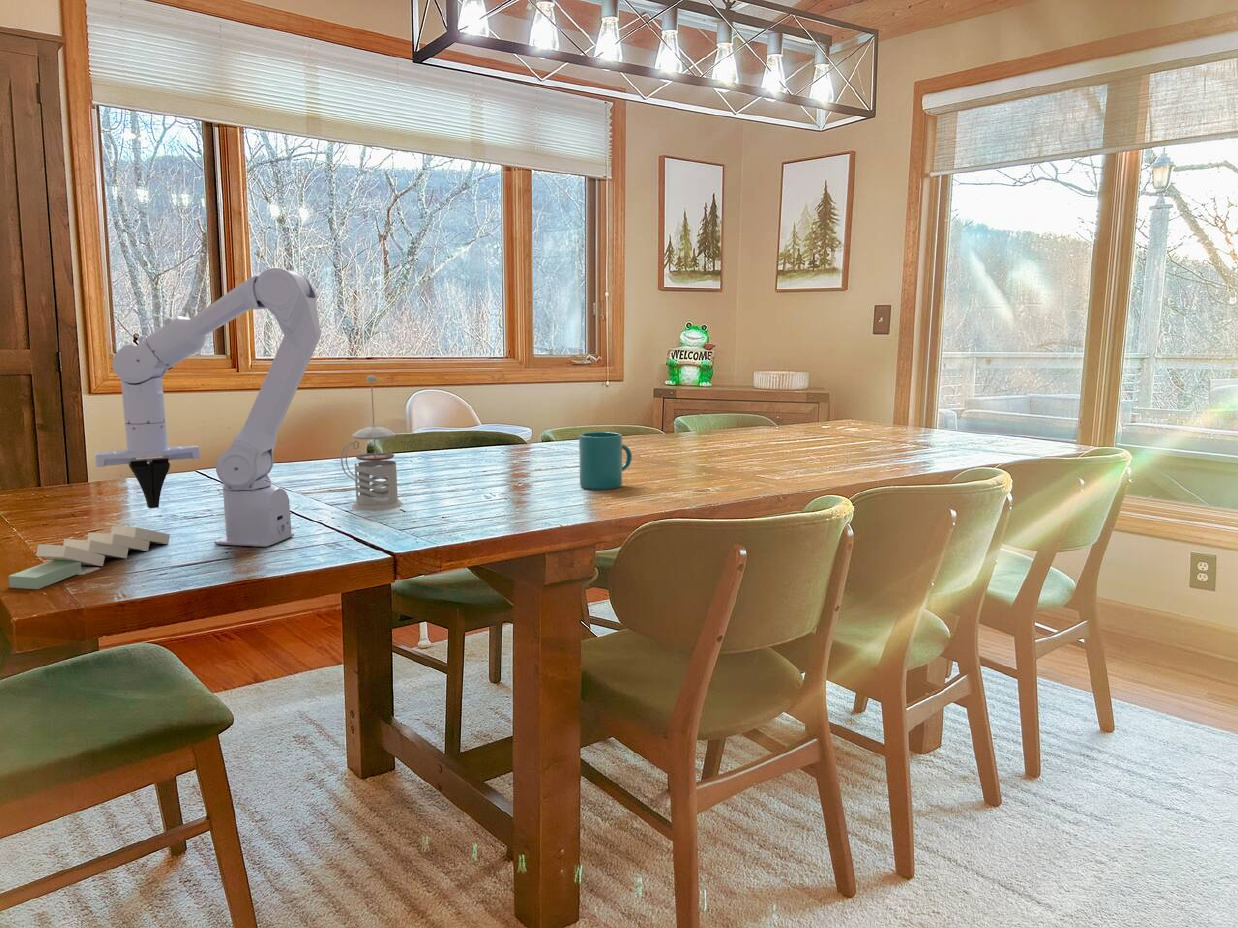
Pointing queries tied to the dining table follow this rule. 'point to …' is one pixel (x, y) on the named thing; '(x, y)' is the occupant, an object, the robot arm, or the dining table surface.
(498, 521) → the dining table surface
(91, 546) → the domino
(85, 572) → the pad
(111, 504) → the dining table surface
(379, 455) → the french press
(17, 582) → the domino
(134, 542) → the domino
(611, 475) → the cup
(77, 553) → the domino
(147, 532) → the domino
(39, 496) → the dining table surface
